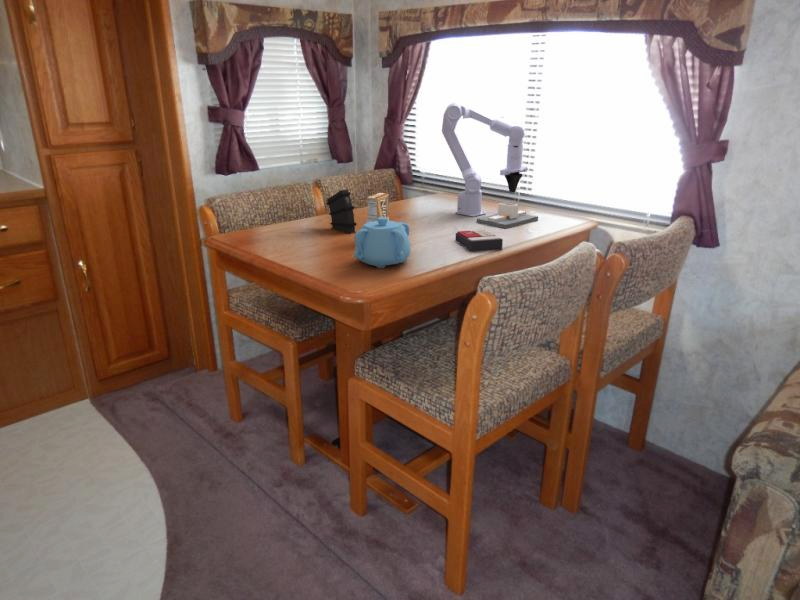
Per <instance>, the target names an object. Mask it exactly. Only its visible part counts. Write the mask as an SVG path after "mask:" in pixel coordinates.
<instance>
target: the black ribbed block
mask: <svg viewBox="0 0 800 600" xmlns="http://www.w3.org/2000/svg"><path fill="white" fill-rule="evenodd" d="M351 195H352V193H351V191H349V189H347V188H346V189H341V190H339V191H338V192H336V193H334V194H333V195H332V196H330V197H329V198H327V199H326V200H327V202H326V205H327V206H328V207H329V211H330V213H329V214H328V215H329V216H330V218H331V222H330V223H329V224H330V225H331V228H332V229H333V230H336V231H338V232H342V233H346V234H348V235H350V234H353V233H354V234H355V233H356V226H357V222H355V215H354V210H355V206H354V205H353V203H352V199H351Z"/></svg>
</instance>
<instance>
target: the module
mask: <svg viewBox="0 0 800 600" xmlns="http://www.w3.org/2000/svg"><path fill="white" fill-rule="evenodd" d="M519 206H520V205H519V204H515V203H511V202H506V201H505V202H501V203H498V207H497V209H498V210H497V214H498V215H505V216H509V219H514V218H518V210H519Z"/></svg>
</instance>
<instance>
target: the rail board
mask: <svg viewBox="0 0 800 600" xmlns="http://www.w3.org/2000/svg"><path fill="white" fill-rule="evenodd" d="M537 221H539V216H538V215H532V214H527V211H526V210H525V211H523V210H519V209H518V218H514V219H506V217H505V216H500V215H498V213H495V214H491V215H486V216H483V217H482V216H481V217H478V218H476V223H477V222H478V224H481V223H482V225H486V224H487V226H490V225H491V226H492V227H495V226H496V228H500V229H504V230H506V229H510V228H515V227H517V226H522V225H526V224H529V223H533V222H537ZM491 226H490V227H491Z"/></svg>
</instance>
